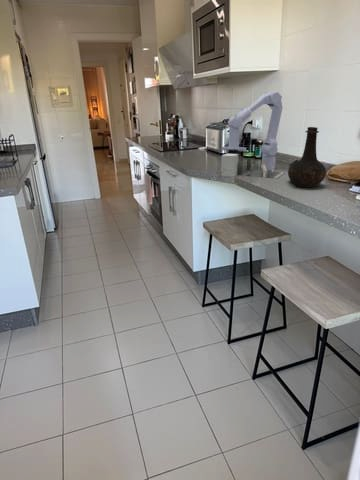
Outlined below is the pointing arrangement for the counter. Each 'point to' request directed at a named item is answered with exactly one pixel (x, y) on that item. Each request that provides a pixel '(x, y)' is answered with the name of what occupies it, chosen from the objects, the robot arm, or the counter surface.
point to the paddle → (263, 167)
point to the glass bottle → (308, 164)
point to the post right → (248, 164)
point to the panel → (266, 174)
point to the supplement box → (230, 165)
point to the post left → (240, 168)
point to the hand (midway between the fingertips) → (233, 163)
